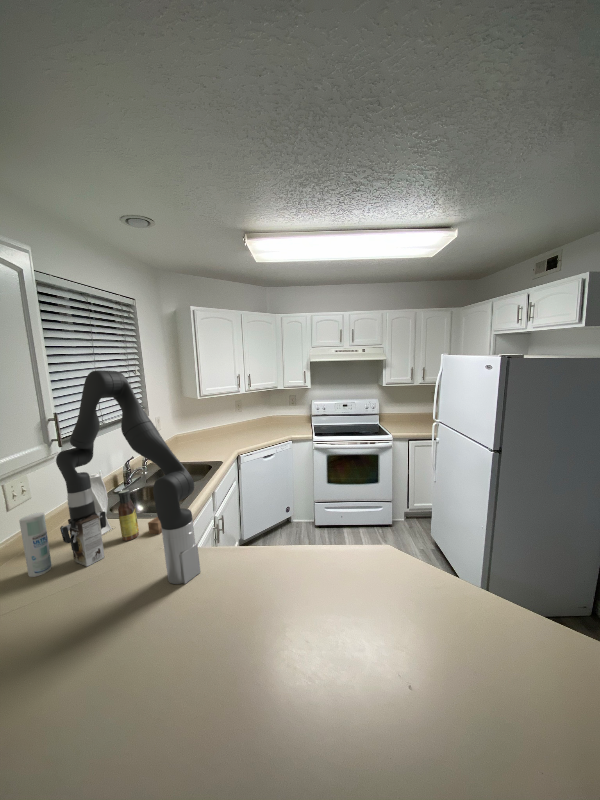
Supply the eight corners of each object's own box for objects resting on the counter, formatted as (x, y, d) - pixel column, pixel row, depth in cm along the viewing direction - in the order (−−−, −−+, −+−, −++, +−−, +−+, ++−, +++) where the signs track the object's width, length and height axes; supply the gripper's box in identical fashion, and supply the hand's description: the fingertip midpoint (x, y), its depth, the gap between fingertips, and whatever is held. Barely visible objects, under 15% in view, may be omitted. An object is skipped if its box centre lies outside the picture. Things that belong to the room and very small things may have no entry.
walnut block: (167, 528, 128) (166, 517, 128) (159, 534, 123) (157, 523, 123) (157, 528, 129) (156, 517, 129) (149, 534, 124) (147, 522, 124)
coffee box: (73, 562, 108) (66, 519, 107) (92, 552, 113) (86, 511, 112) (86, 567, 103) (79, 523, 102) (105, 557, 109) (99, 514, 108)
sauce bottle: (142, 535, 123) (136, 489, 122) (126, 543, 118) (120, 495, 117) (134, 532, 127) (128, 487, 126) (119, 539, 122) (112, 492, 121)
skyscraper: (118, 528, 133) (109, 467, 131) (101, 537, 125) (92, 473, 123) (103, 527, 135) (95, 467, 133) (86, 536, 127) (77, 473, 126)
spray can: (36, 578, 100) (27, 521, 99) (23, 576, 102) (14, 520, 100) (56, 566, 106) (48, 512, 105) (44, 564, 108) (35, 512, 107)
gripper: (62, 511, 99) (69, 559, 100) (107, 495, 111) (113, 537, 112) (52, 508, 103) (59, 554, 104) (97, 493, 115) (103, 534, 116)
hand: (87, 545), depth 108 cm, fingers closed on coffee box, 6 cm apart
